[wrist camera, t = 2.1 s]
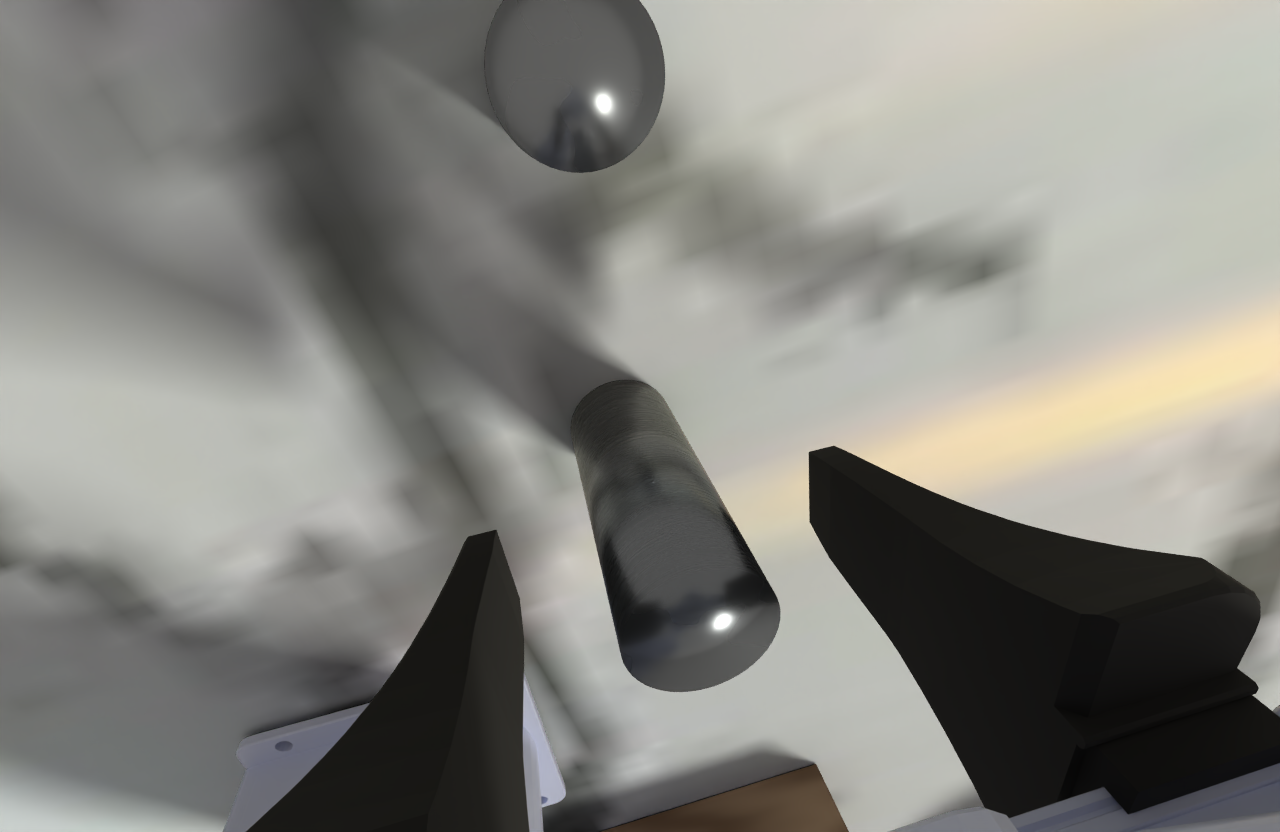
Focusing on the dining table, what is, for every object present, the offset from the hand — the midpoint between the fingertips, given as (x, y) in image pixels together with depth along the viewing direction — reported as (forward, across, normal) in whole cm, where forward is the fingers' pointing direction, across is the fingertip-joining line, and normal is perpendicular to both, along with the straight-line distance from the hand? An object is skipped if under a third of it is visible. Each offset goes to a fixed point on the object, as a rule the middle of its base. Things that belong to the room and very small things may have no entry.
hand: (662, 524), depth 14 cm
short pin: (+5, 0, -9) cm, 10 cm away
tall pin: (+5, 0, 0) cm, 5 cm away
